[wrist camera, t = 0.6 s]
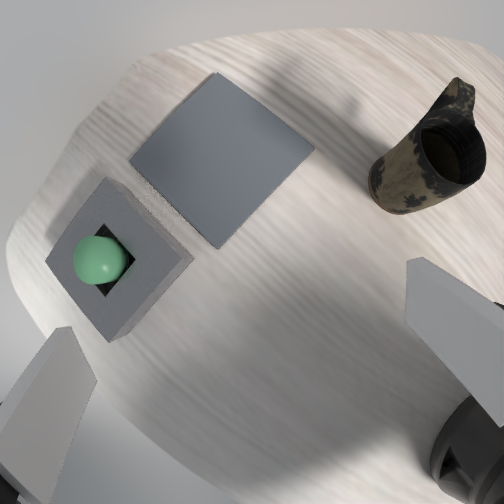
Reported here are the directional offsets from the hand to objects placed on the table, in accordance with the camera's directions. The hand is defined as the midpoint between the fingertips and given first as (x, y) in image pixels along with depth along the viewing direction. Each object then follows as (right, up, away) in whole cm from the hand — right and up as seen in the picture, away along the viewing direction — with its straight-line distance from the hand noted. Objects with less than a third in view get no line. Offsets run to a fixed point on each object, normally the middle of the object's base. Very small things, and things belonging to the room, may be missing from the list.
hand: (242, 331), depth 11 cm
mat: (-3, +11, +16) cm, 20 cm away
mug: (+13, +10, +15) cm, 22 cm away
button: (-12, +2, +15) cm, 19 cm away
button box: (-12, +2, +17) cm, 21 cm away
